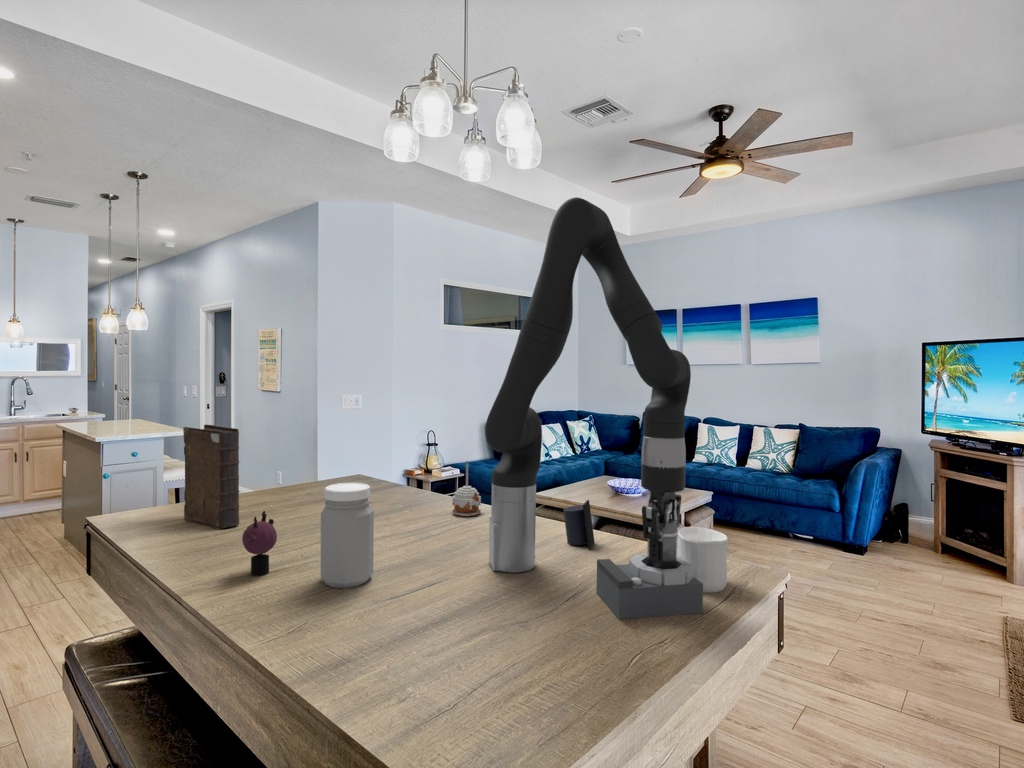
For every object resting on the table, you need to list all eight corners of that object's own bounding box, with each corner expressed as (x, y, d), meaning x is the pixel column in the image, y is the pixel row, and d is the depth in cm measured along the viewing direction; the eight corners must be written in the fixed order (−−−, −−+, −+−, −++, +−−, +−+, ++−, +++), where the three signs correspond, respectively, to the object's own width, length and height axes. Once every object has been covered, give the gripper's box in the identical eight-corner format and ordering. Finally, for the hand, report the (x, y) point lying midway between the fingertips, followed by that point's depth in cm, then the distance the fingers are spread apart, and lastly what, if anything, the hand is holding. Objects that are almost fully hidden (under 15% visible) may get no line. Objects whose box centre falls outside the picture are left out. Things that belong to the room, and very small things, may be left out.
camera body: (618, 619, 93) (619, 576, 93) (596, 592, 104) (597, 555, 104) (703, 612, 96) (704, 572, 96) (673, 588, 107) (674, 551, 107)
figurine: (273, 563, 117) (273, 505, 117) (289, 573, 111) (289, 513, 111) (232, 572, 111) (232, 512, 111) (246, 584, 106) (247, 520, 105)
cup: (701, 597, 103) (703, 544, 102) (663, 579, 112) (664, 530, 111) (738, 588, 107) (740, 537, 107) (698, 571, 116) (700, 524, 116)
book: (242, 526, 144) (242, 428, 143) (213, 532, 138) (213, 430, 137) (209, 515, 154) (209, 423, 153) (182, 521, 148) (182, 425, 147)
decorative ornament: (479, 518, 155) (480, 463, 155) (451, 517, 155) (451, 463, 155) (481, 510, 163) (482, 459, 163) (454, 510, 163) (455, 458, 163)
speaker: (602, 543, 133) (598, 499, 133) (590, 550, 129) (585, 505, 129) (575, 540, 138) (571, 497, 138) (562, 546, 133) (558, 503, 133)
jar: (383, 574, 112) (383, 483, 111) (353, 592, 103) (354, 494, 102) (341, 568, 115) (341, 480, 114) (309, 585, 106) (309, 489, 105)
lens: (654, 577, 97) (655, 524, 97) (641, 566, 102) (642, 516, 102) (682, 575, 98) (683, 523, 98) (668, 565, 103) (669, 515, 103)
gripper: (670, 470, 92) (668, 574, 92) (696, 459, 104) (694, 551, 104) (627, 465, 96) (625, 564, 96) (656, 455, 108) (655, 543, 108)
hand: (661, 557), depth 100 cm, fingers closed on lens, 5 cm apart
